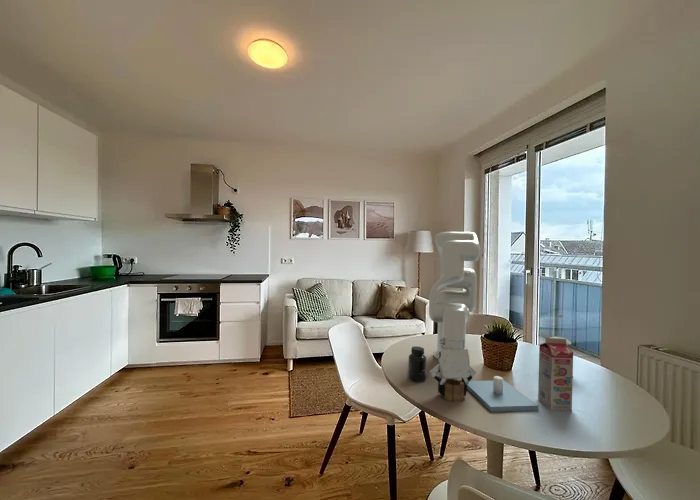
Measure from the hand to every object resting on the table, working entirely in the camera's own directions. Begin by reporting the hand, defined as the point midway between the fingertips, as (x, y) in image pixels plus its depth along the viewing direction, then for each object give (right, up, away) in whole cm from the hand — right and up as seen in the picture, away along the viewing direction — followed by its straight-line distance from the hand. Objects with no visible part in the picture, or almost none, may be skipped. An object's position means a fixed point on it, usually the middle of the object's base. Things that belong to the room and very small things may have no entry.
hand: (452, 394), depth 102 cm
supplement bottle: (-9, -1, +13) cm, 16 cm away
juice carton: (+32, -2, -4) cm, 33 cm away
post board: (+16, -1, 0) cm, 16 cm away
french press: (+51, -2, +22) cm, 56 cm away
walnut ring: (0, -1, 0) cm, 1 cm away
